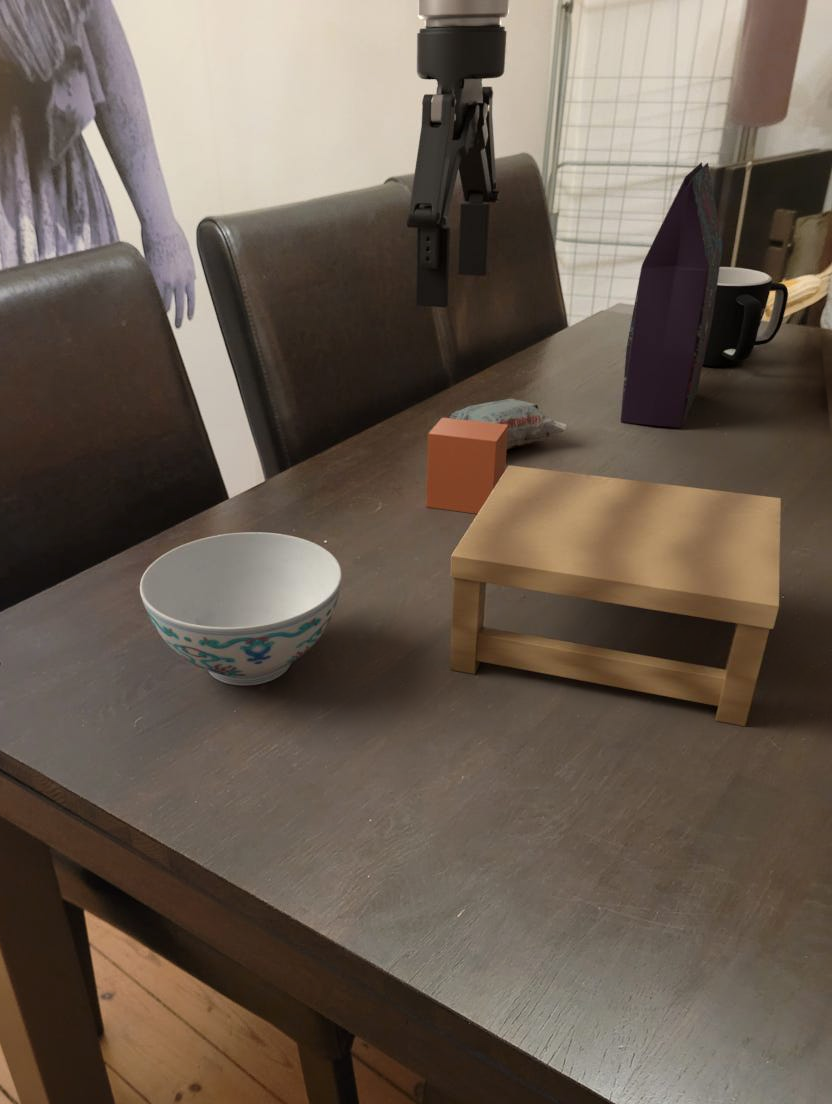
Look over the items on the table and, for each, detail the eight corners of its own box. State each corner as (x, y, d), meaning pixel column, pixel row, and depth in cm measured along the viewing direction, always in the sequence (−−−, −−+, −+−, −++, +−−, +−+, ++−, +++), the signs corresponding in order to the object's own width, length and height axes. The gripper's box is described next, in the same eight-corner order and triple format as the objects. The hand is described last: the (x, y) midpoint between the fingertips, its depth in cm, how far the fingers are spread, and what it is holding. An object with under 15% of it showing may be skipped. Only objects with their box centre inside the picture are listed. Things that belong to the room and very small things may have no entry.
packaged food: (563, 448, 113) (567, 407, 110) (479, 467, 108) (481, 424, 106) (520, 427, 120) (523, 387, 117) (439, 444, 115) (440, 403, 113)
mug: (739, 383, 132) (756, 293, 126) (634, 362, 142) (646, 277, 135) (787, 357, 142) (806, 272, 136) (687, 339, 152) (700, 259, 145)
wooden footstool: (755, 606, 81) (781, 497, 76) (748, 728, 67) (779, 605, 62) (501, 567, 88) (508, 465, 83) (446, 670, 74) (451, 555, 69)
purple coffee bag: (615, 423, 120) (648, 176, 105) (638, 385, 132) (670, 160, 117) (683, 431, 117) (727, 179, 102) (700, 392, 129) (740, 162, 114)
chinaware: (265, 595, 84) (259, 515, 80) (383, 663, 75) (383, 576, 71) (117, 660, 76) (101, 575, 72) (228, 746, 67) (218, 653, 62)
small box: (503, 497, 101) (508, 424, 97) (491, 516, 97) (496, 441, 93) (439, 488, 104) (442, 417, 99) (426, 507, 100) (427, 433, 95)
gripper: (459, 25, 91) (452, 261, 102) (367, 24, 71) (370, 317, 82) (538, 22, 88) (521, 265, 99) (465, 22, 69) (454, 324, 80)
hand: (453, 289), depth 91 cm, fingers open, 13 cm apart
